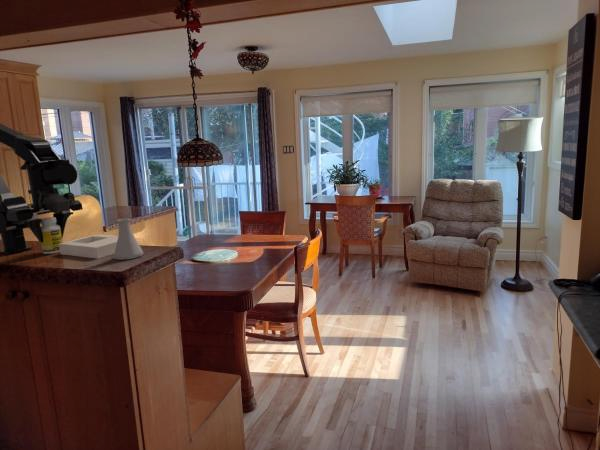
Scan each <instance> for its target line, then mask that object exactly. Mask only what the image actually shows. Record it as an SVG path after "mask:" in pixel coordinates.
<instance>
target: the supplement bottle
mask: <svg viewBox="0 0 600 450" xmlns="http://www.w3.org/2000/svg"><path fill="white" fill-rule="evenodd" d="M41 219H42V220H41V223H40V226H41V230H42V235H43V242H42V243H41V242H40V247H41V251H42V254H43V255H53V254H58V253H61V252H60V246H59V244H60V243H64V241H63V237H62V235H61V228H60V226H59V225H57V224H56V221H57V220H56V217H53V216H52V217H51V216H49V217H43V218H41Z"/></svg>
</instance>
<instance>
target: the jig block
mask: <svg viewBox="0 0 600 450" xmlns="http://www.w3.org/2000/svg"><path fill="white" fill-rule="evenodd" d="M117 240H118V235H109V234H99V233H98V234H92V235H89V236H85V237H81V238H76V239H73V240H67V241H65V242H64V241H63V243H60V244H59V246H60V252H59V253H60V255H65V256H74V257H82V258H90V259H96V260H98V259H101V258H105V257H108V256H111V255H114V253H115V249H116V245H117Z"/></svg>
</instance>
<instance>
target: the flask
mask: <svg viewBox="0 0 600 450" xmlns="http://www.w3.org/2000/svg"><path fill="white" fill-rule="evenodd" d="M130 221H131V218H126V217H125V218H120V219H117V220H116V223H117V224H118V235H117V236H118V240H117V245H116V249H115V253H114V254H113V260H117V261H118V260H119V261H122V260H123V261H125V260H132V259H133V260H134V259H135V258H139V257H142V256H143V255H144V251H143V249H142V247H141V245H140V244H139V243H138V241H137V239H136V237H135V236H134V233H133V230H132V226H131V222H130Z"/></svg>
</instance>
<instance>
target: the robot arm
mask: <svg viewBox="0 0 600 450" xmlns="http://www.w3.org/2000/svg"><path fill="white" fill-rule="evenodd" d="M0 143H1V144H3V145H5V146H7V147H9V148H11V149H12V150H13V152H14V154H15V155H16V156H18V157H19V158H20V159H21V160H23V161H24V163H23V164H22V165H21V166H20V168H19V170H21V171H27V177H28V183H29V189H28V190H27V192H28V194H29V195H31V199H32V200H31V201H32V204H30V205H28V203H27V201H26V200H25V198H24V197H23V196H22V195H20V196H16V195H14V194H13V193H12V192H11V190H10V189H9V186H8V185H7V184H6V182H5V180H4V178H3V177H2V175H1V174H0V239H1V244H2V249H1V250H0V254H8V255H12V254H15V253H20V252H24V251H28V250H32V249H33V247H32V246H27V244H26V238H25V237H26V236H25V234H24V229H29V230H30V231H31V233H32V234H33V235H34V236H35V237H36V239H37V240H38V242H39V243H40V244H41V243H42V242H43V235H42V230H41V226H42V225H41V220H42V219H43V218H39V217H38V216H40V215H45V214H50V213H52V217H56V220H57V221H56V224H57V225H59V226H60V228H61V235H62V238H64V234H65V228H66V224H67V221H68V219H69V218H70V216H71V215H74V212H75V211H82V210H83V204H82V202H81V201H80V200H78V199H76V198H75V194H74V193H73V192H70V191H69V192H65V193H64V194H60V193H59V190H58V188H57V187H55V186H58V185H59V186H60V185H61V186H63V185H64V186H65V185H73V184H75V183H76V182H77V180H78V170H77V168H76V167H75V165H73V164H72V163H71V162H70V159H69V158H65V159H64V158H63V159H61V157H60V156H59V155H58V154H57V152H56V151H55V149H54V148H53V147H52V146H51V143H50V142H49V141H48V140H47V139H44V138H40V137H38V136H29V135H25V134H23V133H20V132H18V131H17V130H14V129H12V128H10V127H8V126H7V125H4V124H2V123H0Z"/></svg>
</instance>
